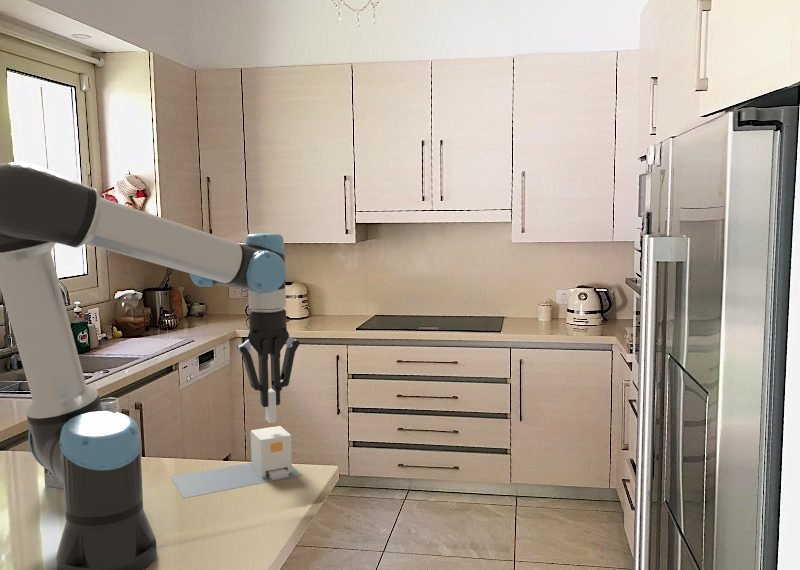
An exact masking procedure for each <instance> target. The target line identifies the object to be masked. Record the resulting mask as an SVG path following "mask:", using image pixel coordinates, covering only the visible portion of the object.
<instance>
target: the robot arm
mask: <svg viewBox="0 0 800 570" xmlns="http://www.w3.org/2000/svg"><path fill="white" fill-rule="evenodd" d="M284 242H285V241H284V237H283V236H282V235H281V234H280V233H278V232H276V233H275V232H258V233H249V234H247V235H246V238H245V243H244V244H241V243H238V242H236V241H234V240H230V239H227V238H224V237H221V236H219V235H215V234H212V233H209V232H206V231H203V230H200V229H197V228H194V227H191V226H188V225H186V224H182V223H179V222H176V221H173V220H170V219H167V218H165V217H164V218H163V217H161V216H158V215H155V214H152V213H149V212H146V211H143V210H140V209H137V208H134V207H131V206H128V205H124V204H122V203H119V202H116V201H113V200H110V199H106V198H103V197H101V196H100V193H99V192H98V190H97V188H95V187H92V186H89V185H86V184H84V183H80V182H77V181H75V180H73V179H71V178H68V177H65V176H63V175H60V174H59V173H56V172H54V171H51V170H49V169H47V168H45V167H43V166H40V165H36V164H34V163H28V162H24V161H12V162H8V163H7V162H3V163H1V162H0V291H1V295H2V298H3V302H4V306H5V309H6V312H7V316H8V319H9V322H10V326H11V329H12V333H13V336H14V340H15V343H16V346H17V350H18V354H19V357H20V361H21V364H22V368H23V371H24V374H25V378H26V381H27V382H26V383H27V385H28V388H29V393H30V395H31V401H30V404H29V405H28V407H27V408H26V410H25V415H26V420H27V422H28V424H29V428H28V435H27V437H28V440H27V441H28V445H29V449H30V452H31V454H32V456H33V457H34V459H35V460H36V462H37V463H39V465H40V466H41V467H43V469H44V468H46V469H47V470H49V471H50V472H51V473H52V474H53V475H55V476H56V477H57V478H58V479H59V480H60V481H61V482H63V485H64V489H63V493H64V494H63V496H64V509H65V510H64V511H65V524H64V528H63V531H62V534H61V539H60V542H59V544H58V548H57V552H56V557H55V558H56V559H55V561H56V570H144V569H146V568H147V567H149V566H150V565H151V564H152V563H153V562H154V561H155V559H156V557H157V552H158V550H157V539H156V536H155V534H154V531H153V529H152V527H151V525H150V522H149V519H148V516H147V515H146V512H145V509H144V499H143V497H144V495H143V473H142V471H143V469H142V438H141V435H140V429H139V426H138V423H137V422H136V420H135V419H134V418H132V417H131V416H129V415H127V414H124V413H121V412H119V413H113V412H109V411H103V409H102V406H101V402H100V400H101V399H100V394H99V392H98V390H97V389H96V388H93V387H91V386H89V385H87V382H86V380H85V375H84V372H83V367H82V363H81V361H80V357H79V353H78V349H77V345H76V342H75V339H74V334H73V331H72V328H71V323H70V320H69V316H68V312H67V311H68V310H67V309H66V304H65V300H64V297H63V293H62V290H61V289H62V288H61V285H60V282H59V281H60V280H59V277H58V274H57V270H56V267H55V262H54V259H53V255H52V250H53V248H54V246H55V245H56V244H60V245H64V246H69V247H71V248H77V249H78V248H79V247H81V246H83V245H89V246H91V247H94V248H95V247H96V248H100V249H103V250H107V251H110V252H113V253H117V254H120V255H124V256H128V257H130V258H135V259H138V260H141V261H146V262H149V263H151V264H155V265H159V266H163V267H167V268H170V269H174V270H177V271H179V272H180V271H181V272H184V273H186V274H189V277H190V279H191V281H192V283H194V285H195V286H196V287H197V286H198V287H200V288H201V287H209V288H212V287H215V286H224V287H229V288H234V289H241V290H245V291H248V308H250V310H249V312H248V322H249V323H248V327H249V332H248V335H247V339H246V340H245V341H244V342H243V343H240V344H238V345H237V346H236V349H237V351H238V352H239V353H240V354H241V356H242V360H243V363H244V366H245V370H246V373H247V377H248V380H249V384H250V387H251V388H253V390H255V391H259V392H260V393H259V395H260V397H259V398H260V405H261V406H262V407H263V408H264V409H265V410H264V411H265V415H264V416H265V421H267V422H268V423H269V424H275V423H277V421H278V419H277V406H280V405H281V392H282V390H283V388H284V387H288V386H289V384H290V379H291V374H292V370H293V364H294V360H295V355H296V351H297V349H298V347H299V346H300V344H301V343H300V341H299V340H298V339H296V338H293V337H291V336H290V334H289V332H288V329H287V310H286V309H285V308H286V306H287V298H286V297H287V295H286V275H287V274H286V272H287V267H286V263H285V262H286V253H285V243H284ZM251 346H252V348H253V349H254V350H255V352H256V353H257V359H258V373H257V372H256V368H255V364H254V360H253V357H252V355H251V353H250V352H251V351H252V348H251ZM284 346H286V348H285V353H284V357H283V363H282V367H281V360H280V359H281V351H282V349H283V347H284ZM269 357H270V358H269ZM269 360H270V379H271V380H270V382H271V383H270V384H271V388H269ZM257 374H258V375H257Z"/></svg>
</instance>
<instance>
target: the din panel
mask: <svg viewBox="0 0 800 570" xmlns="http://www.w3.org/2000/svg"><path fill="white" fill-rule="evenodd" d="M302 476H303V474H302V473H300V472H299V471H298V470H297V469H296V468H295V467H294V466H293V465H292V472H291V473H289V472H288V471H287V470H286V469H285V468H280V469H275V470H269V471H266V477H265V478H261V477H260V476H259V475H258V473H257V472H256V471H255V470H254V469H253V468H252V462H248V463H243V464H236V465H231V466H224V467H220V468H214V469H213V468H212V469H209V470H204V471H203V470H202V471H198V472H197V471H196V472H191V473H186V474H181V475H174V476H171V477H170V478H171V480H172V482H173V484H174V486H175V487H176V489H177V490H178V492H179V493H180V495H181V497H182V498H183V499H188V498H192V497H198V496H202V495H208V494H213V493H218V492H222V491H223V492H224V491H229V490H234V489H239V488H245V487H249V486H250V487H251V486H254V485H255V486H256V485H259V484H265V483H270V482H276V481H281V480H285V479H291V478H297V477H302Z"/></svg>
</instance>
